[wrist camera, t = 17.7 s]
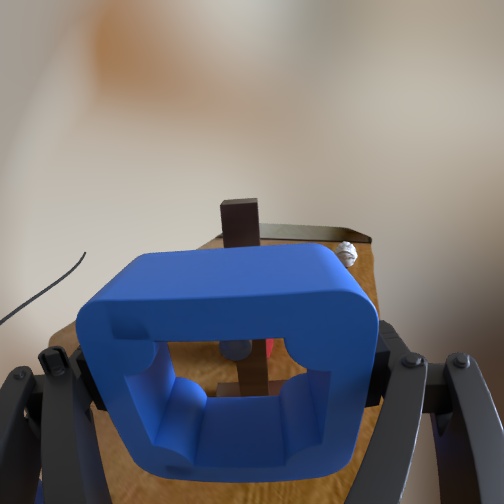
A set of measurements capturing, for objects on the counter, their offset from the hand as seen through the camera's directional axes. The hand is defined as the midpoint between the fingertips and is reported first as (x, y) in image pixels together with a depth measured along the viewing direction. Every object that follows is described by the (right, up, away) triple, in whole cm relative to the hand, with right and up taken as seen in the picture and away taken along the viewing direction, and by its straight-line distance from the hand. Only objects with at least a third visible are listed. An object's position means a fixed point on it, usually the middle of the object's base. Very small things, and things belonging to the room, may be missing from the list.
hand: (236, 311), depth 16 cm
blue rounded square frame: (0, -7, -2) cm, 7 cm away
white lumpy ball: (+25, -1, +63) cm, 68 cm away
